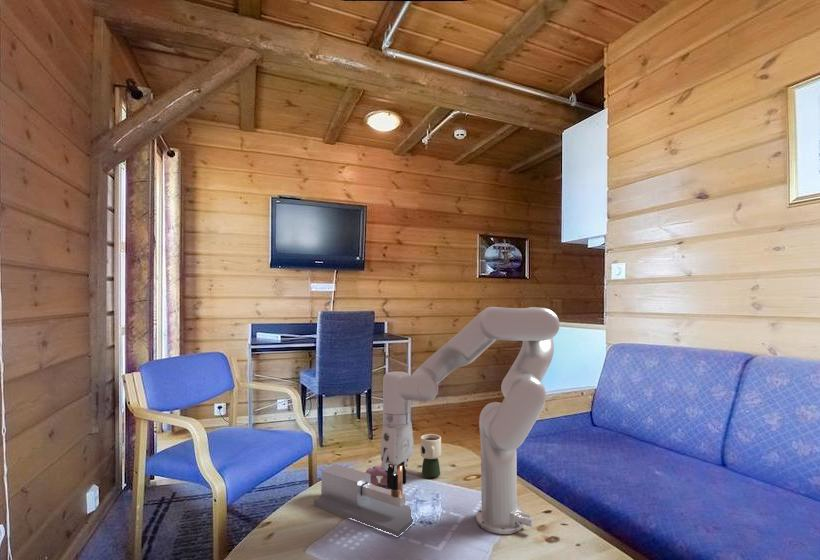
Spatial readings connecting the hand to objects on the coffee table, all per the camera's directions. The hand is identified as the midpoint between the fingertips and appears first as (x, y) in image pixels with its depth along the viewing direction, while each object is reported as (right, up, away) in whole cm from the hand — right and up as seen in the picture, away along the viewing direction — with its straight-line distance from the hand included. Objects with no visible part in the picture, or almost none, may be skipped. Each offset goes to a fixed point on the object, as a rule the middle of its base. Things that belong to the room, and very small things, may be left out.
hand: (396, 485), depth 111 cm
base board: (-9, -10, +5) cm, 14 cm away
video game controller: (-7, -11, +21) cm, 24 cm away
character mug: (+11, -11, +28) cm, 32 cm away
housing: (-15, -9, +10) cm, 20 cm away
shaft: (-7, -5, +4) cm, 10 cm away
